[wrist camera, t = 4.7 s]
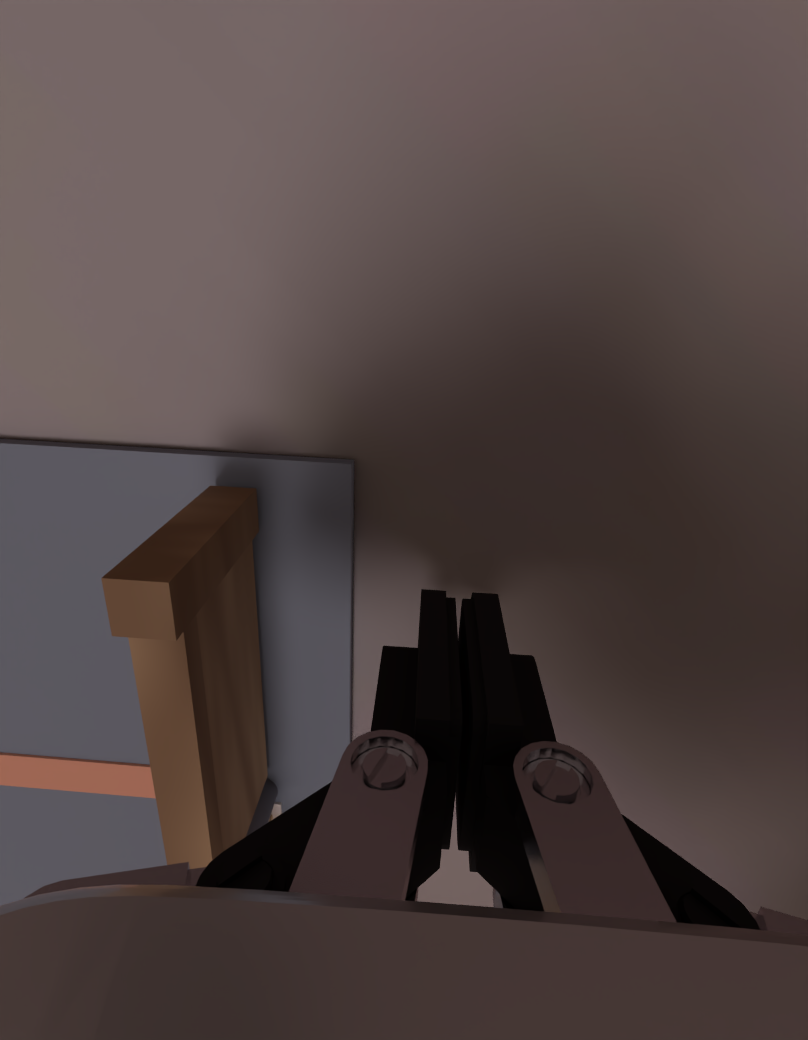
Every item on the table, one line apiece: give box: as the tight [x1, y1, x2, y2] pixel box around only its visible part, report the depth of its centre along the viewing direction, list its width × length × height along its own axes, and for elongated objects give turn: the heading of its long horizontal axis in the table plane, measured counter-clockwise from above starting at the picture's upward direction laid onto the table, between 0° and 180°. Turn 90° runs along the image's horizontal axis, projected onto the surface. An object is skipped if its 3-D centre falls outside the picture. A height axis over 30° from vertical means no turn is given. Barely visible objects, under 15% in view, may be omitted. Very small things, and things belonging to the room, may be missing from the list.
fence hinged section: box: [101, 486, 268, 869], centre depth 14 cm, size 1×10×5 cm, turn 178°
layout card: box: [0, 439, 354, 906], centre depth 17 cm, size 14×23×6 cm, turn 178°
